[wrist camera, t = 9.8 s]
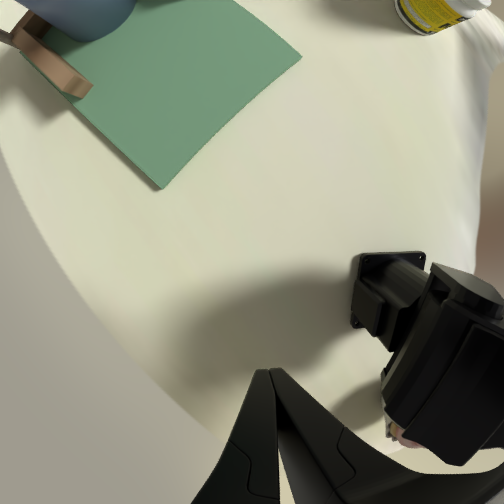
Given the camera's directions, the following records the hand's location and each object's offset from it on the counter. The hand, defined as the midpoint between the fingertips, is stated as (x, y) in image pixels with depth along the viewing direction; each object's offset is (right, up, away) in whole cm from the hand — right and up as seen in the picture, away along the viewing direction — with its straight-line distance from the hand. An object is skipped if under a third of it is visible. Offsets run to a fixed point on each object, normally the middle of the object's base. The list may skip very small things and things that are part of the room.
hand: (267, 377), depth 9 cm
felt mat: (-8, +19, +6) cm, 22 cm away
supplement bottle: (+14, +25, +6) cm, 29 cm away
